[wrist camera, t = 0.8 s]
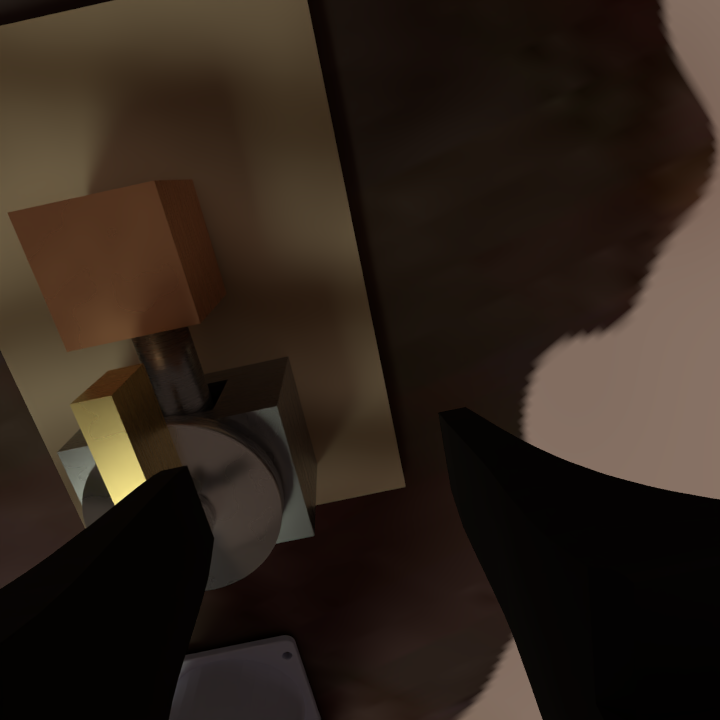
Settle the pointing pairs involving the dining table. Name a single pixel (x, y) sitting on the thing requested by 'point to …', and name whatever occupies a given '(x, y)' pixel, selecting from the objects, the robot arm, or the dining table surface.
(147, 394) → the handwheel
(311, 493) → the eye block
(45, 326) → the oak board
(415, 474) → the dining table surface
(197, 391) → the brown blocky piece
